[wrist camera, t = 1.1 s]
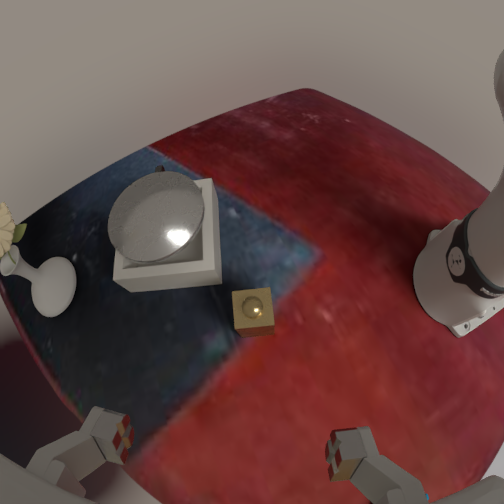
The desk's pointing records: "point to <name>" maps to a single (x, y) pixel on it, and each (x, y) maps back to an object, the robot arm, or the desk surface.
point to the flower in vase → (36, 270)
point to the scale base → (180, 257)
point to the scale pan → (156, 217)
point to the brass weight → (253, 312)
